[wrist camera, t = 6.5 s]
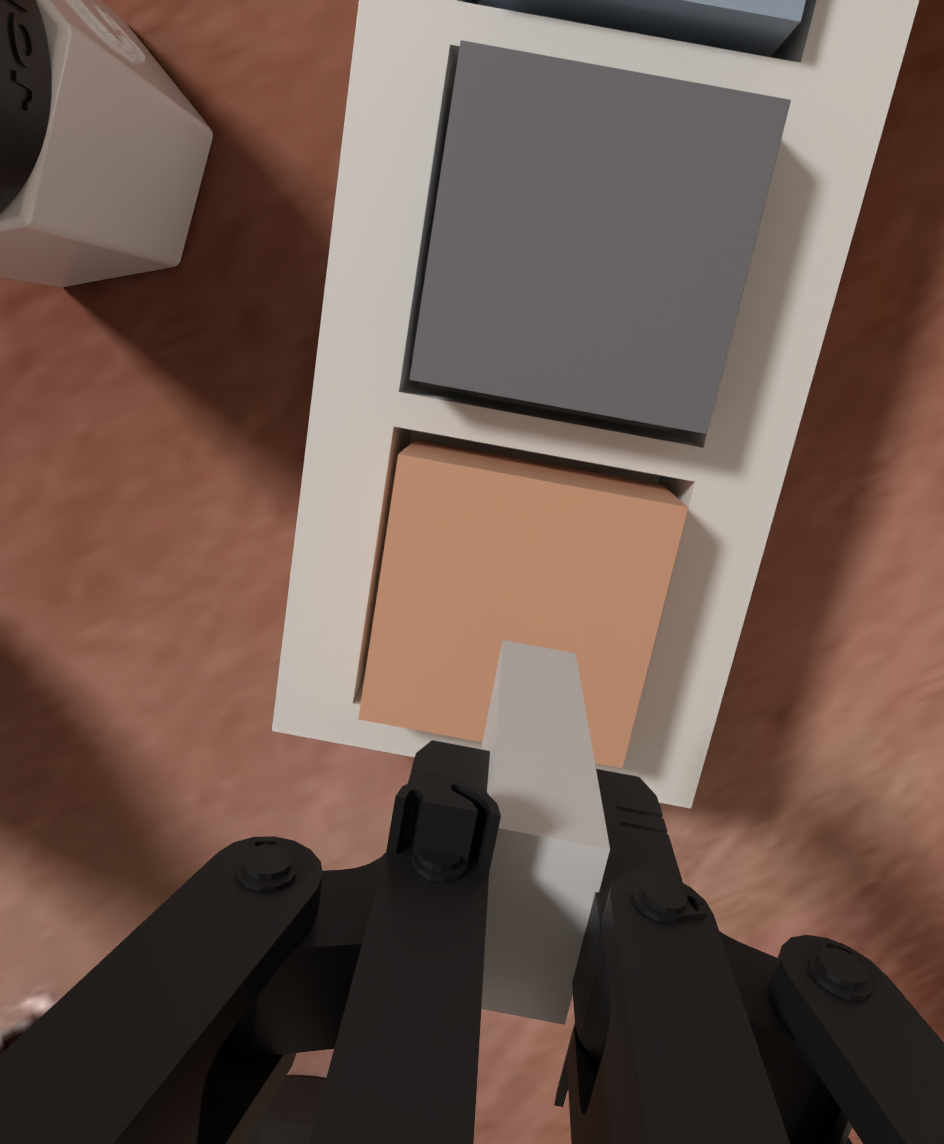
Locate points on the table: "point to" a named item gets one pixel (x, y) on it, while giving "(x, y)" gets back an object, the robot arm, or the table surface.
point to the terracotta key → (515, 587)
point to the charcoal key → (592, 235)
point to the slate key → (680, 19)
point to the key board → (553, 434)
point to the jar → (90, 148)
